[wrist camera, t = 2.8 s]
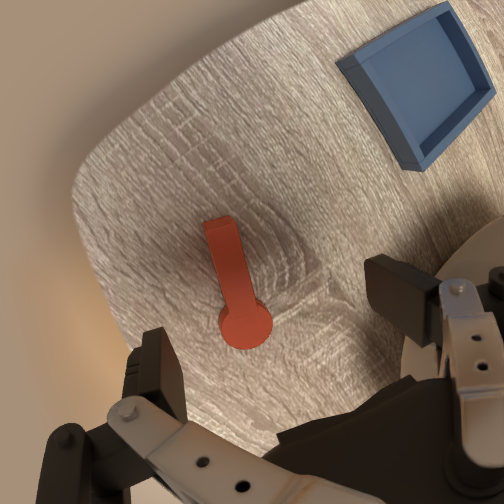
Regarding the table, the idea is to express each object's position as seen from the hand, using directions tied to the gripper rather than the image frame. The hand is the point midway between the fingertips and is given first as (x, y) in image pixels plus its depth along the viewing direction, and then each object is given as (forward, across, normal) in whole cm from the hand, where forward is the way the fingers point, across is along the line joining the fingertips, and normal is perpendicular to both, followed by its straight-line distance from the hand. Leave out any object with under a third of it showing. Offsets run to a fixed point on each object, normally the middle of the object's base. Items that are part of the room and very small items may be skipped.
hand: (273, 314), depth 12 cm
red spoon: (+10, 0, +3) cm, 10 cm away
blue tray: (+10, -18, -9) cm, 23 cm away
